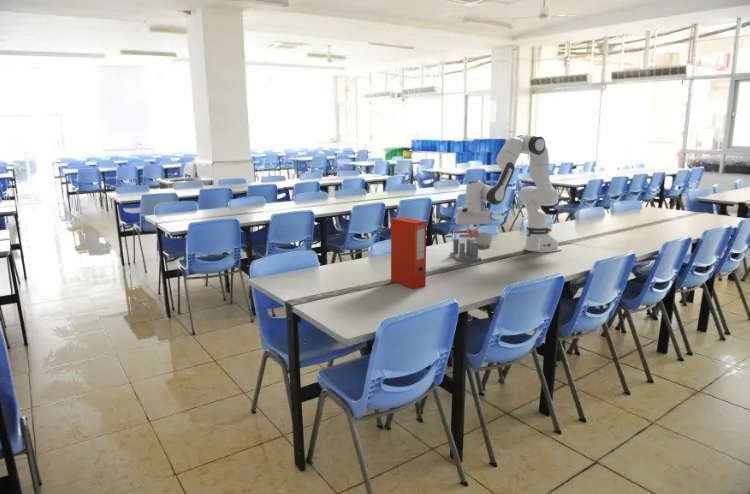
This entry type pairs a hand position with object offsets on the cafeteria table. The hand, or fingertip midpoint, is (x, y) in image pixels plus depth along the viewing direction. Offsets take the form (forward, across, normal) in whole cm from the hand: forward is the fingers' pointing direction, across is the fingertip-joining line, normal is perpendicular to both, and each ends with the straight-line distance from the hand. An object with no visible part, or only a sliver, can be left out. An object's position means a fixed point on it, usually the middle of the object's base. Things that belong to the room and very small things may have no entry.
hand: (472, 231), depth 306 cm
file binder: (+16, +47, +47) cm, 68 cm away
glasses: (+2, +4, 0) cm, 4 cm away
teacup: (+15, -15, -29) cm, 36 cm away
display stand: (+15, +4, 0) cm, 16 cm away
